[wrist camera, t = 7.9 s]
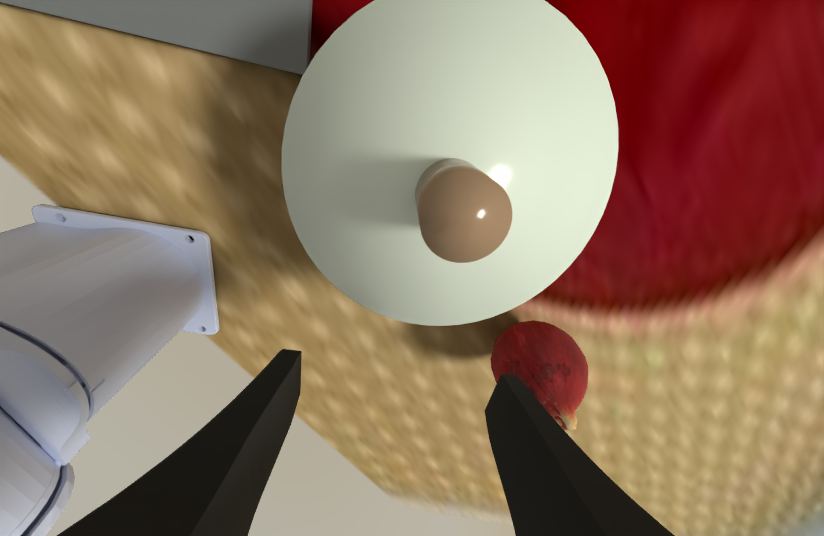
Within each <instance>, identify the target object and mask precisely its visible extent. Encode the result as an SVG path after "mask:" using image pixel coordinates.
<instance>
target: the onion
mask: <svg viewBox="0 0 824 536" xmlns="http://www.w3.org/2000/svg"><path fill="white" fill-rule="evenodd" d="M491 368H492V371H493V374H494V377H495V380H496V383H497V382H498V380H499V378H500V376H501V374H507V375H516V376H518V378H519V379H520V380H521V381H522V382H523V383H524V384H525V385H526V387H527V388H528V389H529V390H530V391H531V393H532V394H533V395H534V396H535V397H536V398H537V400H538V401H539V402H540V403H541V404H542V406H543V407H544V408H545V409H546V410H547V411H548V413H549V414H550V415H551V416H552V417H553V418H554V420H556V421H557V422H559V423H560V425H561V427H562V428H563V429H564V430H576V424H577V421H578V420H577V418H576V417H575V412H574V411H575V410H576V409H577V407H578V406H579V405H580V403H581V401H582V399H583V398H584V395H585V393H586V389H587V383H588V365H587V362H586V358H585V356H584V354H583V353H582V351H581V350H580V348H579V347H578V345H577V344H576V342H575V341H574V340H573V338H572V337H571V336H569V335H568V334H567V333H566V332H565V331H563V330H561V329H559V328H557V327H556V326H554V325H551V324H549V323H546V322H540V321H526V322H520V323H517V324H515V325H513V326H511V327H509V328H507V329H506V330H505V331H504V332H503V333H502V334H501V335H500V336H499V337H498V338H497V339H496V342H495V345H494V349H493V352H492V356H491Z"/></svg>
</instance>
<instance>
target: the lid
mask: <svg viewBox="0 0 824 536" xmlns="http://www.w3.org/2000/svg"><path fill="white" fill-rule="evenodd" d="M617 156H618V123H617V116H616V109H615V102H614V99H613V95H612V92H611V89H610V85H609V82H608V78H607V76H606V74H605V72H604V70H603V68H602V66H601V63H600V61H599V59H598V57H597V55H596V54H595V52H594V51H593V49H592V48H591V46H590V45H589V43H588V42H587V40H586V39H585V37H584V36H583V34H582V33H581V32H580V31H579V30H578V29H577V28H576V27H575V26H574V25H573V24H572V23H571V22H570V21H569V20H568V19H567V17H566V16H565V15H563V14H562V13H561V12H559V11H558V10H557V9H555V8H554V7H553V6H551V5H550V4H549V3H547V2H546V1H545V0H374V1H373V2H371V3H370V4H368V5H367V6H365V7H363V8H362V9H360V10H359V11H357V12H356V13H355V14H354V15H352V16H351V17H350V18H349V19H348V20H347V21H346V22H345V23H343V24H342V25H341V26H340V27H339V28H338V29H337V30H335V31H334V33H333V34H332V35H331V36H330V37H329V39H328V40H327V41H326V42H325V43H324V45H323V46H322V47H321V48H320V49H319V51H318V52H317V53H316V55H315V56H314V58H313V60H312V61H311V63H310V65H309V66H308V68H307V69H306V71H305V73H304V74H303V76H302V78H301V81H300V83H299V85H298V87H297V90H296V92H295V94H294V97H293V99H292V102H291V105H290V109H289V113H288V116H287V120H286V123H285V129H284V136H283V143H282V181H283V189H284V196H285V200H286V204H287V208H288V212H289V216H290V219H291V221H292V224H293V226H294V229H295V231H296V234H297V236H298V238H299V240H300V242H301V243H302V245H303V247H304V249H305V251H306V252H307V254H308V256H309V257H310V258H311V260H312V261H313V262H314V264H315V265H316V267H317V268H318V269H319V270H320V272H321V273H322V274H323V275H324V276H325V277H326V278H327V279H328V280H329V281H330V282H331V283H332V284H333V285H334V286H335V287H336V288H338V289H339V290H340V291H341V292H342V293H343V294H345V295H346V296H348V297H349V298H351V299H352V300H354V301H355V302H357V303H358V304H360V305H361V306H363V307H365V308H367V309H369V310H371V311H373V312H375V313H378V314H380V315H383V316H386V317H388V318H391V319H395V320H398V321H402V322H406V323H412V324H419V325H429V326H448V325H460V324H466V323H472V322H477V321H480V320H484V319H487V318H491V317H494V316H497V315H499V314H502V313H504V312H507V311H509V310H511V309H513V308H515V307H517V306H519V305H521V304H523V303H525V302H526V301H528V300H529V299H531V298H532V297H534V296H535V295H537V294H538V293H540V292H541V291H543V290H544V289H545V288H546V287H548V286H549V285H550V284H551V283H553V282H554V281H555V280H556V279H557V278H558V277H559V276H560V275H561V274H562V273H563V272H564V271H565V270H566V269H567V268H568V267H569V266H570V265H571V264H572V262H573V261H574V260H575V259H576V257H577V256H578V255H579V254H580V253H581V251H582V250H583V248H584V247H585V245H586V244H587V242H588V241H589V239H590V238H591V236H592V235H593V233H594V231H595V229H596V227H597V225H598V223H599V221H600V219H601V217H602V215H603V212H604V210H605V207H606V204H607V202H608V199H609V196H610V193H611V189H612V185H613V181H614V177H615V173H616V165H617Z"/></svg>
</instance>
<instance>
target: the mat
mask: <svg viewBox="0 0 824 536" xmlns="http://www.w3.org/2000/svg"><path fill="white" fill-rule="evenodd" d="M0 2H1V3H5V4H9V5H13V6H17V7H21V8H26V9H30V10H34V11H38V12H42V13H46V14H50V15H55V16H59V17H63V18H67V19H71V20H75V21H80V22H84V23H88V24H92V25H96V26H100V27H105V28H109V29H113V30H117V31H121V32H125V33H129V34H134V35H138V36H142V37H146V38H150V39H154V40H159V41H163V42H167V43H171V44H175V45H179V46H184V47H188V48H192V49H196V50H200V51H204V52H208V53H213V54H217V55H221V56H225V57H229V58H233V59H238V60H242V61H246V62H250V63H254V64H258V65H263V66H267V67H271V68H275V69H279V70H283V71H287V72H292V73H296V74H300V75H303V74H304V73H305V71H306V69H307V68H308V66H309V65H310V45H311V22H312V0H0Z"/></svg>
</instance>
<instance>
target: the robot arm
mask: <svg viewBox="0 0 824 536" xmlns="http://www.w3.org/2000/svg"><path fill="white" fill-rule="evenodd" d="M32 214H33V216H34V219H35V221H36V223H33V224H30V225H26V226H23V227H19V228H16V229H12V230H9V231H6V232H2V233H0V536H45V535H46V534H47V533H48V531H49V530H50V529H51V527H52V526H53V524H54V523H55V522H56V520H57V519H58V517H59V516H60V514H61V513H62V511H63V509H64V507H65V505H66V504H67V502H68V500H69V498H70V495H71V492H72V489H73V486H74V478H75V477H74V472H73V468H72V466H71V465H70V463H69V461H70V460H71V459H72V458H73V457H74V456H75V455H76V454H77V453H78V452H79V451H80V450H81V449H82V448H83V446H85V444H86V443H87V442H88V441H89V440H90V439H91V436H90V434H89V433H88V431H87V429H86V422H87V421H89V420H90V419H91V417H93V416H94V415H95V414H96V413H97V412H98V411H99V410H100V409H101V408H102V407H103V406H104V405H105V404H106V403H107V402H108V401H109V400H110V399H111V398H112V397H113V396H114V395H115V394H116V393H117V392H118V391H119V390H120V389H121V388H122V387H123V386H124V385H125V384H126V383H127V382H128V381H129V380H130V379H131V378H132V377H133V376H135V375H136V373H138V372H139V371H140V369H142V368H143V367H144V366H145V365H146V364H147V363H148V362H149V361H150V360H151V359H152V358H153V357H154V356H155V355H156V354H157V353H158V352H159V351H160V350H161V349H162V348H163V347H164V346H165V345H166V344H167V343H168V342H169V341H170V340H171V339H172V338H173V337H174V336H175V335H176V334H177V333H178V332H179V331H185V332H193V333H201V334H208V335H214V334H216V333H217V332H218V330H219V320H218V310H217V301H216V291H215V282H214V272H213V263H212V254H211V244H210V238H209V236H208V235H207V234H206V233H204V232H202V231H197V230H191V229H186V228H180V227H174V226H168V225H162V224H156V223H150V222H145V221H139V220H133V219H127V218H121V217H115V216H109V215H104V214H98V213H92V212H86V211H80V210H74V209H68V208H63V207H57V206H51V205H45V204H41V205H37V206H34V207H33V208H32ZM63 216H65V218H64V217H63ZM189 235H190V236H192V237H193V239H194V241H193V240H191V239H190V238H189ZM202 326H203V327H205V328H203V327H202ZM300 384H301V351H295V350H286V349H283V350H281V351H279V353H278V354H277V355H276V356H275V357H274V358H273V359H272V361H271V362H270V363H269V364H268V365H267V366H266V367H265V368H264V369H263V370H262V371H261V373H260V374H259V375H258V376H257V377H256V378H255V379H254V380H253V381H252V382H251V383H250V384H249V385H248V386H247V387H246V388H245V389H244V390H243V391H242V392H241V393H240V394H239V395H238V396H237V397H236V398H235V399H234V400H233V401H232V402H231V403H229V404H228V405H227V406H226V407H225V408H224V409H223V410H222V411H221V412H220V413H219V414H217V415H216V416H215V418H213V419H212V420H211V421H210V422H209V423H208V424H206V425H205V426H204V427H203V428H202V429H201V430H200V431H198V432H197V433H196V434H195V435H194V436H193V437H191V438H190V439H189V440H188V441H186V442H185V443H184V444H183V445H182V446H180V447H179V448H178V449H177V450H176V451H174V452H173V453H172V454H170V455H169V456H168V457H167V458H165V459H164V460H163V461H162V462H160V463H159V464H158V465H156V466H155V467H154V468H152V469H151V470H150V471H148V472H147V473H146V474H144V475H143V476H142V477H140V478H139V479H138V480H137V481H135V482H134V483H132V484H131V485H130V486H128V487H127V488H125V489H124V490H123V491H121V492H120V493H119V494H117V495H116V496H114V497H113V498H112V499H110V500H109V501H107V502H106V503H104V504H103V505H102V506H100V507H98V508H97V509H95V510H94V511H92V512H91V513H90V514H88V515H87V516H85V517H84V518H82V519H81V520H79V521H78V522H76V523H75V524H73V525H72V526H70V527H69V528H67V529H66V530H65V531H63V532H62V533H60V534H59V535H57V536H248V532H249V529H250V526H251V523H252V520H253V517H254V514H255V512H256V509H257V506H258V503H259V501H260V498H261V496H262V493H263V491H264V488H265V486H266V484H267V481H268V479H269V476H270V474H271V471H272V469H273V467H274V464H275V462H276V459H277V457H278V454H279V452H280V450H281V447H282V445H283V442H284V440H285V437H286V435H287V432H288V430H289V428H290V425H291V422H292V419H293V416H294V412H295V409H296V406H297V402H298V399H299V395H300ZM485 415H486V422H487V428H488V434H489V439H490V443H491V447H492V451H493V454H494V458H495V461H496V465H497V468H498V472H499V475H500V479H501V482H502V486H503V489H504V492H505V496H506V499H507V503H508V506H509V510H510V513H511V517H512V521H513V525H514V529H515V534H516V536H674V535H673V534H672V533H671V532H669V531H668V530H667V529H666V528H665V527H664V526H662V525H661V524H660V523H659V522H658V521H657V520H655V519H654V518H653V517H652V516H651V515H650V514H648V513H647V512H646V511H645V510H644V509H643V508H641V507H640V506H639V505H638V504H637V503H636V502H635V501H634V500H633V499H631V498H630V497H629V496H628V495H627V494H626V493H625V492H624V491H623V490H622V489H621V488H620V487H619V486H618V485H616V484H615V483H614V482H613V481H612V480H611V479H610V478H609V477H608V476H607V475H606V474H605V473H604V472H603V471H602V470H601V469H600V468H599V467H598V466H597V465H596V464H595V463H594V462H593V461H592V460H591V459H590V458H589V457H588V456H587V455H586V454H585V453H584V452H583V451H582V449H581V448H580V447H579V446H578V445H577V444H576V443H575V442H574V441H573V440H572V439H571V438H570V437H569V435H568V434H567V433H566V432H565V431H564V430H563V429H562V428H561V426H560V425H559V424H558V423H557V422H556V421H555V420H554V418H553V417H552V416H551V415H550V414H549V413H548V411H547V410H546V409H545V408H544V407H543V406H542V404H541V403H540V402H539V401H538V400H537V398H536V397H535V396H534V395H533V394H532V393H531V391H530V390H529V389H528V388H527V387H526V385H525V384H524V383H523V382H522V381H521V380H520V379H519V378H518V376H516V375H507V374H501V376H500V378H499V380H498V382H497V385H496V387H495V389H494V391H493V394H492V396H491V398H490V400H489V402H488V405H487V407H486V409H485Z"/></svg>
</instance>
